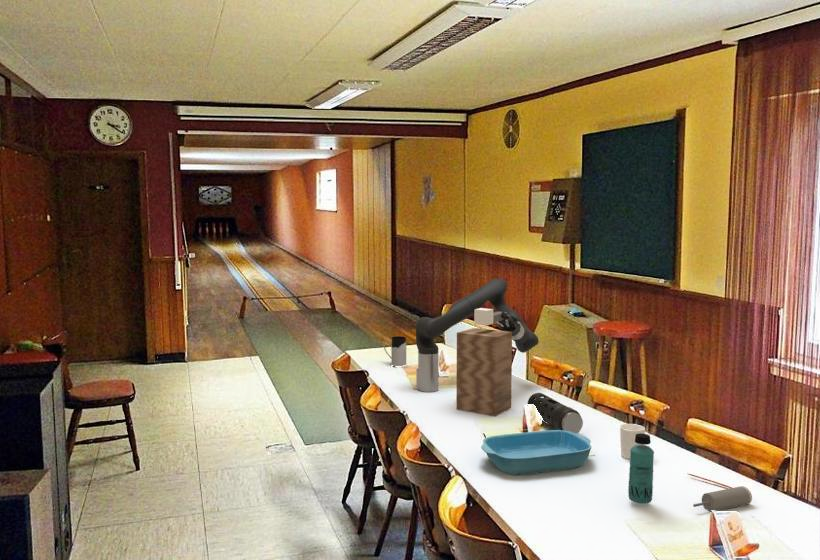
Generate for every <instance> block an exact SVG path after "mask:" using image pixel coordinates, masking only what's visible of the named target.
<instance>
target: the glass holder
mask: <svg viewBox="0 0 820 560" xmlns="http://www.w3.org/2000/svg"><path fill="white" fill-rule="evenodd" d="M386 340H388V343H389V347H390V349H391V352H390V353H391V355H390V354H389V353H388V352H387V350H386V347H385V346H386V345H385V342H386ZM382 344H383V349H384V352H385V353H386V355H388V357H389V358H390V360H391V363H390V366H391V365H393V366H403V365H406V364H407V338H406V336H400V335H399V336H392V337H391V339H389V338H384V339H383V342H382Z"/></svg>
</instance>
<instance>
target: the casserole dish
mask: <svg viewBox="0 0 820 560" xmlns="http://www.w3.org/2000/svg"><path fill="white" fill-rule="evenodd" d="M482 442H483V443H482V445H481V446H480V448H481V450H482V451H483V452H485V454H486V456H487V458H488V459H489V461H490V462H491V463H492V464H493V465H494V466H495V467H497V468H498V469H499V470H500V471H501V472H503V473H505V474H508V475H527V474H528V475H529V474H530V475H531V474H538V473H546V472H555V471H562V470H564V471H566V470H570V469H571V470H572V469H575V468H579V467H581V466H583V465H584V464H585V463H587V460H588V458H589V455H590V453H591V449H592V445H591V440H590V438H588V437H587V436H585V435H583V434H579V433H577V434H575V433H572V432H569V431H564V430H557V429H549V430H548V429H547V430H537V431H527V432H518V433H517V432H516V433H506V434H498V435H492V436H491V435H490V436H488V437H485V438H483V440H482Z"/></svg>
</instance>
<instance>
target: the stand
mask: <svg viewBox="0 0 820 560" xmlns="http://www.w3.org/2000/svg"><path fill="white" fill-rule="evenodd" d="M512 363H513V339H512V332H508V331H503V330H497V329H489V328H488V329H486V328H479V327H472V328H468V329H466V330H461V331H457V332H456V402H455V403H456V405H455V406H456V410H458V411H462V412H463V411H464V412H468V413H469V412H470V413H475V414H481V415H484V416H491V417H497V416H499V415H501V414H503V413H504V412H507V411H509V410H510V409H511V410H512V382H513V381H512V377H513V375H512V371H513V370H512V369H513V368H512V366H513V364H512Z"/></svg>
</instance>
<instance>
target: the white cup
mask: <svg viewBox="0 0 820 560" xmlns="http://www.w3.org/2000/svg"><path fill="white" fill-rule="evenodd" d="M619 429H620V430H619V433H620V439H619V441H620V456H621V457H622V458H624V459H628V460H630V454H631V451H630V449H631V448H632V447H633V446H635V445H643V444H638V443H636V442H635V436H636V434H640V433H642V434H646V428H645V426H644V425H639V424H638V423H637V424H636V423H624V424H621V425H620V426H619Z"/></svg>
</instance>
